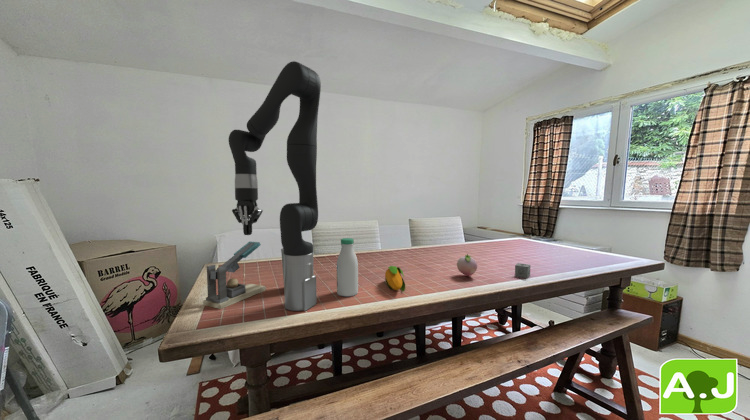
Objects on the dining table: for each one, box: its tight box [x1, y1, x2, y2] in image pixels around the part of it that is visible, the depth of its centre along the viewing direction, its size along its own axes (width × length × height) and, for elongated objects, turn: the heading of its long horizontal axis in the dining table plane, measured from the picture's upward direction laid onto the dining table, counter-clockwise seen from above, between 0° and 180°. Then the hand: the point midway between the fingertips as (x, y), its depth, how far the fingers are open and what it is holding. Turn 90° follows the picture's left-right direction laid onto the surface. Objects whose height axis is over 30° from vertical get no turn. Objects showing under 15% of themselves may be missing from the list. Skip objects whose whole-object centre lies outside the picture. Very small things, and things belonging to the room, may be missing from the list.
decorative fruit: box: [456, 253, 478, 278], centre depth 123 cm, size 9×8×10 cm
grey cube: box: [514, 262, 531, 279], centre depth 124 cm, size 5×5×5 cm
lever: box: [210, 241, 261, 281], centre depth 98 cm, size 5×17×11 cm, turn 157°
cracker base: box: [202, 264, 267, 310], centre depth 98 cm, size 8×19×13 cm, turn 157°
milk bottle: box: [336, 237, 359, 297], centre depth 102 cm, size 8×8×20 cm
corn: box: [384, 265, 406, 292], centre depth 109 cm, size 7×8×20 cm
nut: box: [226, 277, 239, 289], centre depth 97 cm, size 4×4×4 cm
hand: (247, 234), depth 103 cm, fingers closed
